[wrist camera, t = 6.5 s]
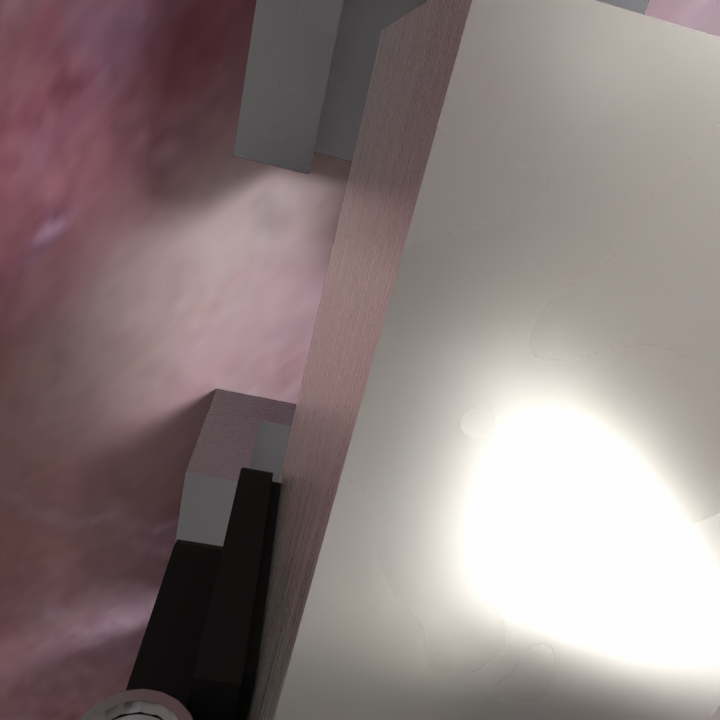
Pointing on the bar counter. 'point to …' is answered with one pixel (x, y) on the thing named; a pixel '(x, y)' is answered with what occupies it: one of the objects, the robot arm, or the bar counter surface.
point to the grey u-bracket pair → (295, 152)
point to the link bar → (512, 384)
